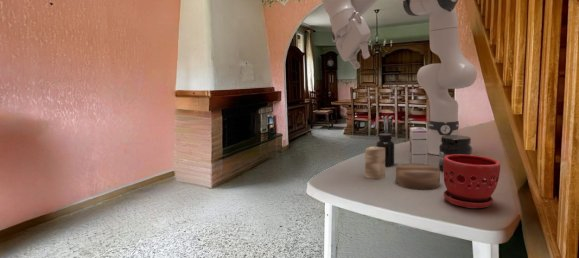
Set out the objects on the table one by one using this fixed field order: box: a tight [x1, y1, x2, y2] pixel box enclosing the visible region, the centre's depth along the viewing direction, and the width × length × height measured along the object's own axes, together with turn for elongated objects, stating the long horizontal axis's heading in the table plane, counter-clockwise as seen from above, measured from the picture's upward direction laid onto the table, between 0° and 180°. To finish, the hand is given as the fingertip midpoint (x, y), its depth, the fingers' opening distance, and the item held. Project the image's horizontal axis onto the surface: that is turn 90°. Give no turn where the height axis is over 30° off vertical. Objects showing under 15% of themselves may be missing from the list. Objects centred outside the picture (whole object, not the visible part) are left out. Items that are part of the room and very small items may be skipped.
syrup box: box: [409, 126, 429, 165], centre depth 128 cm, size 6×6×14 cm
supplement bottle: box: [375, 132, 395, 167], centre depth 132 cm, size 7×7×12 cm
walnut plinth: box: [395, 163, 441, 191], centre depth 107 cm, size 13×13×5 cm
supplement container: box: [438, 135, 473, 174], centre depth 121 cm, size 10×10×12 cm
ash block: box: [364, 146, 386, 181], centre depth 115 cm, size 5×5×10 cm
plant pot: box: [442, 154, 501, 209], centre depth 89 cm, size 13×13×12 cm
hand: (362, 63), depth 109 cm, fingers open, 8 cm apart
